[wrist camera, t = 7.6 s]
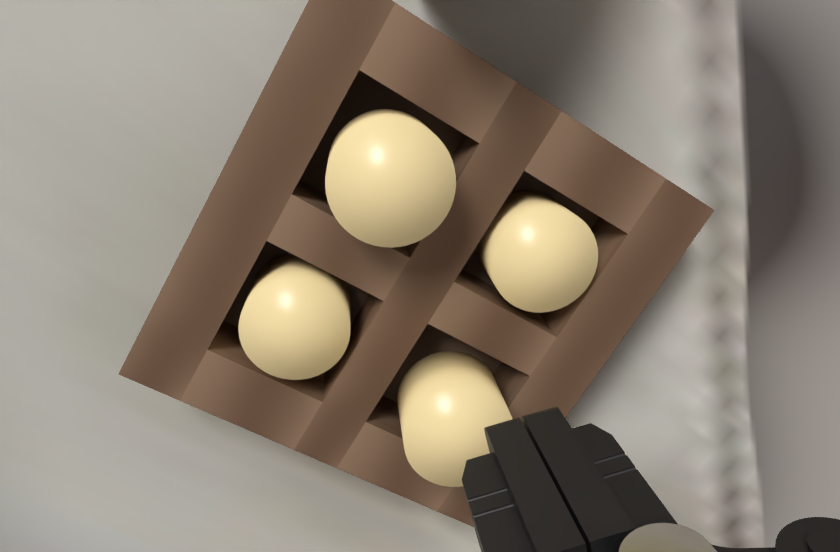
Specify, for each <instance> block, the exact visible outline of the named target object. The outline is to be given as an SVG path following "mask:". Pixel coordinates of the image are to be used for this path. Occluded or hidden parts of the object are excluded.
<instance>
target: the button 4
mask: <svg viewBox="0 0 840 552" xmlns="http://www.w3.org/2000/svg"><path fill="white" fill-rule="evenodd" d="M476 252H477V255H478V258H479V260H480V263H481V264H482V266H483V267H484V269H485V271H486V272H487V274H488V275H489V277H490V278H491V280H492V282H493V283H494V285H495V286H496V288H497V289H498V291H499V293H500V294H501V295H502V296H503V297H504V299H505V300H507V301H508V302H509V303H510V304H512V305H513V306H515V307H517V308H519V309H522V310H525V311H529V312H537V313H542V312H550V311H555V310H558V309H561V308H563V307H565V306H567V305H569V304H570V303H572V302H573V301H575V300H576V299H577V298H578V297H580V296H581V294H582V293H583V292H584V291H585V290H586V289H587V287H588V286H589V284H590V283H591V281H592V279H593V277H594V275H595V272H596V268H597V263H598V247H597V243H596V239H595V237H594V234H593V233H592V231H591V229H590V228H589V226H588V225H587V224H586V223H585V222H584V221H583V220H582V219H581V218H579V217H578V216H576V215H575V214H574V213H572V212H571V211H569V210H568V209H567V208H565V207H564V206H562V205H561V204H560V203H558V202H557V201H555V200H554V199H553V198H551V197H549V196H547V195H545V194H543V193H540V192H535V191H520V192H515V193H512V194H509V196H508V197H507V199H506V200H505V202H504V203H503V205H502V207H501V208H500V210H499V211H498V213H497V215H496V216H495V218H494V219H493V221H492V223H491V224H490V226H489V227H488V229H487V230H486V232H485V234H484V235H483V237H482V238H481V240H480V242H479V243H478V245H477V246H476Z"/></svg>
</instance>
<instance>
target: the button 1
mask: <svg viewBox="0 0 840 552" xmlns="http://www.w3.org/2000/svg"><path fill="white" fill-rule="evenodd" d="M238 332H239V339H240V342H241V345H242V347H243V350H244V352H245V353H246V355H247V356H248V358H249V359H250V360H251V361H252V362H253V363H254V364H255V365H256V366H257V367H258V368H260V369H261V370H263V371H264V372H266V373H268V374H270V375H273V376H275V377H278V378H282V379H289V380H302V379H308V378H312V377H315V376H318V375H320V374H322V373H324V372H326V371H327V370H329V369H330V368H332V367H333V366H334V365H335V364H336V363H337V362H338V361H339V360H340V359H341V357H342V356H343V354H344V352H345V351H346V349H347V346H348V343H349V339H350V294H349V289H348V286H347V283H346V281H344V280H342V279H340V278H338V277H336V276H334V275H332V274H330V273H328V272H326V271H324V270H322V269H320V268H318V267H317V266H315V265H313V264H311V263H309V262H307V261H305V260H303V259H301V258H299V257H297V256H295V255H293V254H288V255H284V256H281V257H278V258H276V259H274V260H272V261H271V262H269V263H268V264H267V265H266V266H264V267H263V268H262V269H261V271H260V272H259V273H258V275H257V276H256V278H255V280H254V282H253V284H252V287H251V289H250V292H249V294H248V297H247V299H246V302H245V304H244V307H243V309H242V312H241V315H240V318H239V325H238Z"/></svg>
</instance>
